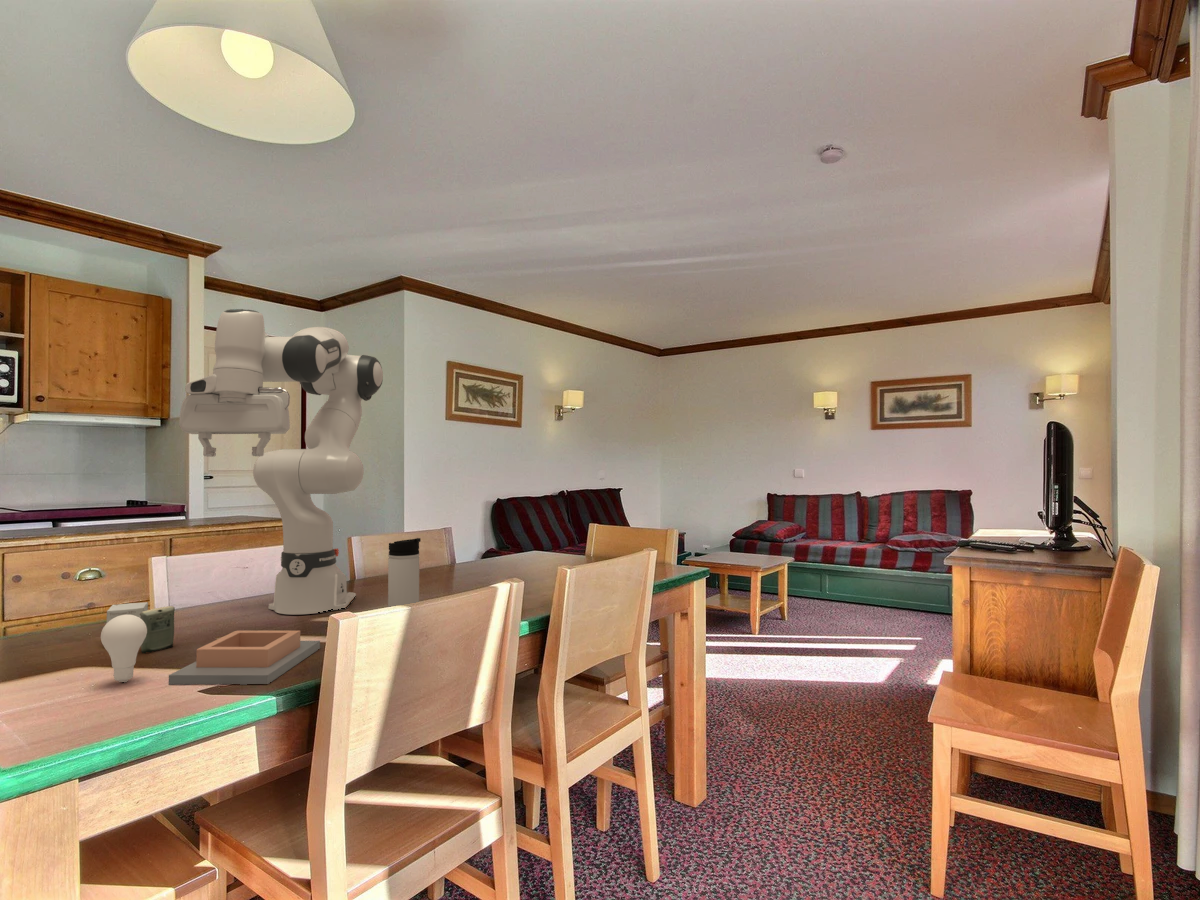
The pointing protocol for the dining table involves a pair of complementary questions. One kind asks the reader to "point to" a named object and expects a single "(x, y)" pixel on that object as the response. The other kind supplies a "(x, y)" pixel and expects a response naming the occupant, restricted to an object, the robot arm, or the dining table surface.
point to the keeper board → (246, 658)
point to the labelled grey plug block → (158, 628)
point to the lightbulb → (123, 643)
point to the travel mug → (403, 572)
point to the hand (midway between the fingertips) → (233, 456)
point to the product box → (126, 610)
